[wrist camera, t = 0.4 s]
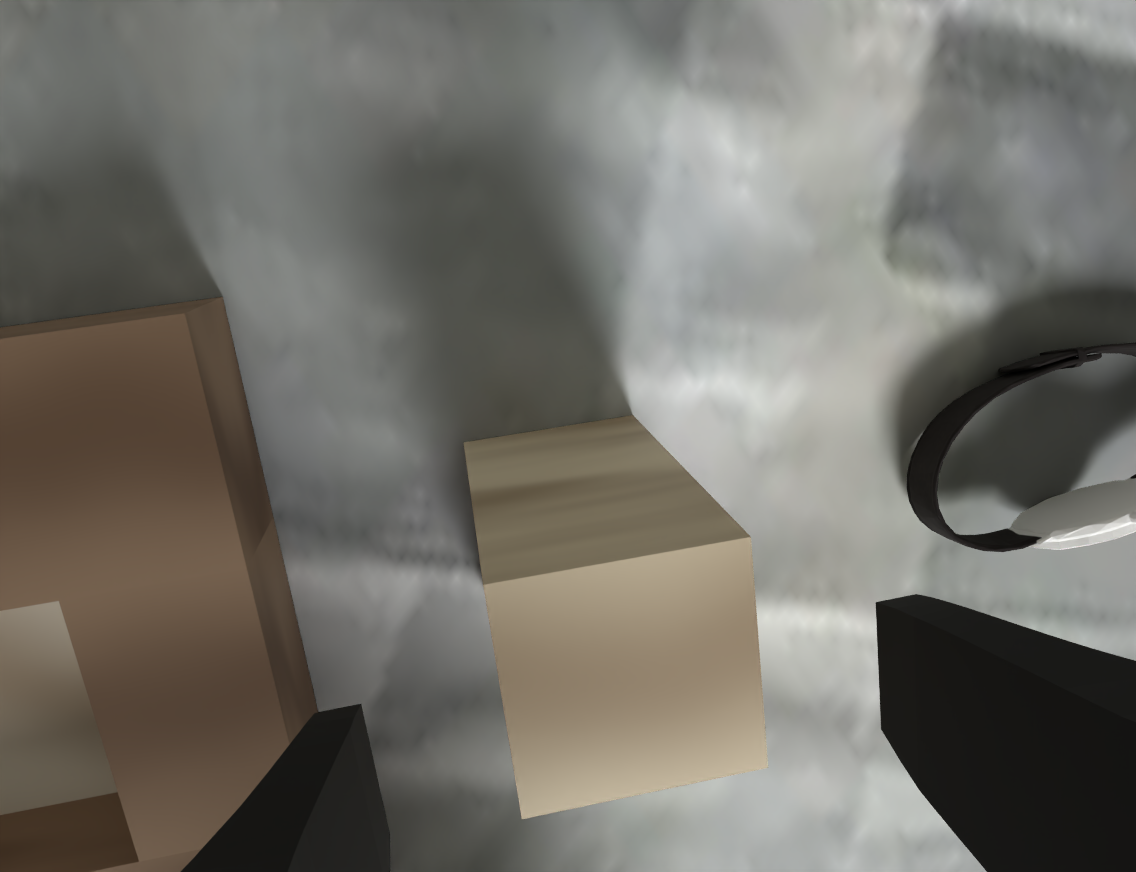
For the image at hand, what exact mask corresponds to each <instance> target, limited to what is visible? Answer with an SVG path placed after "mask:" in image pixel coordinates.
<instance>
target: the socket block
mask: <svg viewBox="0 0 1136 872" xmlns="http://www.w3.org/2000/svg"><path fill="white" fill-rule="evenodd" d="M314 713H318V709H317V705H316V700H315V696H314V692H313V687H312V683H311V678H310V674H309V670H308V665H307V661H306V657H305V652H304V648H303V644H302V639H301V635H300V631H299V626H298V622H297V618H296V613H295V609H294V605H293V600H292V596H291V592H290V587H289V583H288V579H287V574H286V570H285V566H284V561H283V557H282V552H281V548H280V544H279V539H278V535H277V531H276V526H275V522H274V518H273V513H272V509H271V505H270V500H269V496H268V492H267V487H266V483H265V479H264V474H263V470H262V466H261V461H260V457H259V453H258V448H257V444H256V439H255V435H254V431H253V426H252V422H251V418H250V413H249V409H248V405H247V400H246V396H245V392H244V387H243V383H242V379H241V374H240V370H239V366H238V361H237V357H236V353H235V348H234V344H233V340H232V335H231V331H230V326H229V322H228V318H227V313H226V309H225V305H224V300H223V297H217V298H210V299H202V300H195V301H188V302H181V303H173V304H166V305H159V306H152V307H144V308H137V309H130V310H123V311H115V312H108V313H101V314H94V315H86V316H79V317H72V318H65V319H57V320H50V321H43V322H36V323H29V324H21V325H14V326H7V327H0V872H181V871H182V869H183V868H184V867H185V866H186V865H187V864H188V863H189V862H190V861H191V860H192V859H193V858H194V857H195V856H196V855H197V854H198V852H199V851H200V850H201V849H202V848H203V847H204V846H205V845H206V844H207V842H208V841H209V840H210V839H211V838H212V837H213V836H214V835H215V834H216V832H217V831H218V830H219V829H220V828H221V827H222V826H223V825H224V824H225V823H226V821H227V820H228V819H229V818H230V817H231V816H232V815H233V814H234V813H235V811H236V810H237V809H238V808H239V807H240V806H241V805H242V803H243V802H244V801H245V800H246V798H247V797H248V796H249V795H250V794H251V792H252V791H253V790H254V789H255V787H256V786H257V785H258V784H259V782H260V781H261V780H262V779H263V778H264V776H265V775H266V774H267V773H268V771H269V770H270V769H271V768H272V766H273V765H274V764H275V762H276V761H277V760H278V759H279V757H280V756H281V755H282V753H283V752H284V751H285V750H286V748H287V747H288V746H289V744H290V743H291V742H292V741H293V739H294V738H295V737H296V735H297V734H298V733H299V732H300V730H301V729H302V728H303V726H304V725H305V724H306V723H307V721H308V720H309V719H310V718H311V717H312V715H313V714H314Z"/></svg>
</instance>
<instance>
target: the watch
mask: <svg viewBox="0 0 1136 872" xmlns="http://www.w3.org/2000/svg"><path fill="white" fill-rule="evenodd" d="M1090 353H1100V354H1092V355H1087V354H1090ZM1101 353H1121V354H1127V355H1132V356H1135V357H1136V343H1124V344H1109V345H1101V346H1094V347H1086V348H1083V347H1079V348H1071V349H1064V350H1057V351H1050V352H1045V353H1040V356H1037V357H1033V358H1030V359H1027V360H1023V361H1020V362H1017V363H1014V364H1011V365H1008V366H1005V367H1002V368H1000V369H999V370H1000V372H1001V373H1009V374H1007V375H1004V376H1002V377H999V378H997V379H994V380H992V381H989V382H987V383H985V384H983V385H981V386H979V387H977V388H974V389H972V390H971V391H969V392H967V393H966V394H964V395H963V396H961V397H959V398H958V399H956V400H955V401H953V402H952V403H951V404H950V405H948V406H947V407H946V408H945V409H944V410H943V411H942V412H940V413H939V414H938V415H937V416H936V418H935V419H934V420H933V421H932V422H931V423H930V424H929V425H928V426H927V428H926V429H925V431H924V432H923V434H922V436H921V437H920V439H919V441H918V443H917V445H916V447H915V450H914V452H913V454H912V457H911V460H910V464H909V467H908V472H907V492H908V497H909V502H910V504H911V506H912V508H913V511H914V513H915V514H916V515H917V517H918V518H919V520H920V521H921V522H922V523H923V524H925V525H926V526H927V527H928V528H929V529H931V530H932V531H934V532H936V533H938V534H940V535H942V536H944V537H946V538H948V539H950V540H953V541H955V542H958V543H960V544H962V545H965V546H967V547H971V548H974V549H978V550H982V551H994V552H1005V551H1011V550H1017V549H1023V548H1026V547H1028V546H1030V547H1033V548H1040V549H1057V550H1063V549H1069V548H1075V547H1081V546H1087V545H1092V544H1096V543H1101V542H1105V541H1109V540H1114V539H1117V538H1119V537H1122V536H1125V535H1128V534H1130V533H1133V532H1136V474H1135V475H1134V476H1132V477H1131V478H1129V479H1126V480H1120V481H1110V482H1106V483H1101V484H1097V485H1092V486H1088V487H1083V488H1080V489H1076V490H1073V491H1070V492H1067V493H1064V494H1061V495H1058V496H1055V497H1052V498H1048V499H1046V500H1044V501H1042V502H1040V503H1039V504H1037V505H1035V506H1033V507H1031V508H1029V509H1027V510H1026V511H1024V512H1022V513H1020V515H1019V516H1018V517H1017V518H1016V520H1015V521H1014V522H1013V523H1012V526H1011V528H1009V529H1003V530H999V531H995V532H991V533H986V534H979V535H959V534H955V532H954V531H953V530H952V529H951V528H950V527H949V526H948V525H947V524H946V523H945V520H944V518H943V516H942V514H941V512H940V509H939V505H938V498H937V487H938V477H939V473H940V470H941V466H942V463H943V460H944V458H945V456H946V454H947V452H948V450H949V448H950V446H951V444H952V442H953V441H954V440H955V438H956V437H957V435H958V434H959V433H960V431H961V430H962V429H963V427H964V426H965V425H966V424H967V423H968V422H969V421H970V419H971V418H972V417H973V416H974V415H975V414H976V413H977V412H978V411H980V410H981V409H982V408H983V407H985V406H986V405H987V404H988V403H990V402H991V401H992V400H993V399H994V398H996V397H998V396H999V395H1001V394H1003V393H1005V392H1007V391H1008V390H1010V389H1012V388H1014V387H1016V386H1018V385H1020V384H1022V383H1025V382H1027V381H1029V380H1031V379H1034V378H1036V377H1039V376H1041V375H1044V374H1046V373H1049V372H1052V371H1055V370H1058V369H1065V368H1074V367H1079V366H1081V365H1082V364H1083V363H1085V362H1089V361H1094V360H1097V359H1099V358H1101V357H1102V354H1101ZM1076 356H1078V357H1076ZM1011 372H1012V373H1011Z"/></svg>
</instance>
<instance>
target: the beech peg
mask: <svg viewBox="0 0 1136 872" xmlns="http://www.w3.org/2000/svg"><path fill="white" fill-rule="evenodd" d="M464 450H465V457H466V464H467V471H468V479H469V486H470V493H471V500H472V508H473V515H474V522H475V529H476V536H477V544H478V551H479V558H480V565H481V573H482V580H483V587H484V593H485V599H486V605H487V611H488V617H489V623H490V629H491V635H492V641H493V647H494V653H495V659H496V665H497V672H498V678H499V684H500V690H501V696H502V702H503V708H504V714H505V720H506V726H507V732H508V738H509V744H510V750H511V756H512V762H513V768H514V774H515V781H516V787H517V793H518V799H519V805H520V811H521V817H522V819H526V818H531V817H536V816H540V815H545V814H550V813H555V812H559V811H564V810H569V809H574V808H578V807H583V806H588V805H593V804H597V803H602V802H607V801H612V800H617V799H621V798H626V797H631V796H636V795H640V794H645V793H650V792H655V791H659V790H664V789H669V788H674V787H678V786H683V785H688V784H693V783H697V782H702V781H707V780H712V779H716V778H721V777H726V776H731V775H736V774H740V773H745V772H750V771H755V770H759V769H764V768H768V760H767V747H766V733H765V720H764V707H763V693H762V680H761V667H760V653H759V640H758V627H757V613H756V600H755V587H754V573H753V560H752V547H751V537H750V536H749V535H748V534H747V533H746V532H745V530H744V529H743V528H742V527H741V526H740V525H739V524H738V523H737V522H736V521H735V520H734V519H733V518H732V517H731V516H730V515H729V514H728V513H727V512H726V511H725V510H724V509H723V508H722V507H721V506H720V505H719V504H718V503H717V502H716V501H715V500H714V498H713V497H712V496H711V495H710V494H709V493H708V492H707V491H706V490H705V489H704V488H703V487H702V486H701V485H700V484H699V483H698V482H697V481H696V480H695V479H694V478H693V477H692V476H691V475H690V474H689V473H688V472H687V471H686V470H685V469H684V468H683V467H682V465H681V464H680V463H679V462H678V461H677V460H676V459H675V458H674V457H673V456H672V455H671V454H670V453H669V452H668V451H667V450H666V449H665V448H664V447H663V446H662V445H661V444H660V443H659V442H658V441H657V440H656V439H655V438H654V437H653V436H652V435H651V433H650V432H649V431H648V430H647V429H646V428H645V427H644V426H643V425H642V424H641V423H640V422H639V421H638V420H637V419H636V418H635V417H634V416H633V415H630V416H624V417H618V418H612V419H605V420H599V421H593V422H587V423H581V424H574V425H568V426H562V427H556V428H549V429H543V430H537V431H531V432H525V433H518V434H512V435H506V436H500V437H493V438H487V439H481V440H475V441H469V442H464Z"/></svg>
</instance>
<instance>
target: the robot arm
mask: <svg viewBox="0 0 1136 872" xmlns="http://www.w3.org/2000/svg"><path fill="white" fill-rule="evenodd" d="M876 619H877V642H878V665H879V688H880V712H881V730H882V731H883V733H884V735H885V736H886V738H887V740H888V741H889V743H890V744H891V746H892V748H893V749H894V751H895V753H896V754H897V756H898V758H899V759H900V761H901V763H902V764H903V766H904V767H905V769H906V770H907V772H908V773H909V775H910V776H911V778H912V780H913V781H914V783H915V784H916V786H917V787H918V789H919V790H920V791H921V793H922V794H923V795H924V796H925V798H926V799H927V800H928V801H929V803H930V804H931V805H932V806H933V808H934V809H935V810H936V811H937V812H938V814H939V815H940V816H941V817H942V818H943V820H944V821H945V822H946V823H947V824H948V826H949V827H950V828H951V829H952V831H953V832H954V833H955V834H956V835H957V837H958V838H959V839H960V840H961V841H962V842H963V844H964V845H965V846H966V847H967V848H968V850H969V851H970V852H971V853H972V854H973V856H974V857H975V858H976V859H977V860H978V861H979V863H980V864H981V865H982V866H983V867H984V869H985V870H986V871H987V872H1136V661H1134V660H1131V659H1127V658H1123V657H1120V656H1116V655H1113V654H1109V653H1106V652H1102V651H1099V650H1095V649H1092V648H1089V647H1085V646H1082V645H1079V644H1076V643H1072V642H1069V641H1066V640H1063V639H1060V638H1057V637H1053V636H1050V635H1047V634H1044V633H1041V632H1038V631H1035V630H1032V629H1029V628H1026V627H1023V626H1020V625H1017V624H1014V623H1011V622H1008V621H1005V620H1002V619H999V618H996V617H993V616H990V615H987V614H984V613H981V612H978V611H975V610H972V609H969V608H966V607H963V606H959V605H956V604H953V603H950V602H946V601H943V600H939V599H935V598H932V597H927V596H923V595H918V594H915V595H910V596H905V597H900V598H895V599H890V600H885V601H880V602H876ZM181 872H390V833H389V828H388V824H387V819H386V815H385V810H384V806H383V801H382V797H381V792H380V788H379V783H378V779H377V774H376V770H375V765H374V761H373V756H372V751H371V747H370V742H369V738H368V733H367V729H366V724H365V720H364V715H363V711H362V706H361V704H358V705H353V706H348V707H343V708H338V709H333V710H328V711H323V712H318V713H314V714H313V715H312V717H311V718H310V719H309V720H308V721H307V723H306V724H305V725H304V726H303V728H302V729H301V730H300V732H299V733H298V734H297V735H296V737H295V738H294V739H293V741H292V742H291V743H290V744H289V746H288V747H287V748H286V750H285V751H284V752H283V753H282V755H281V756H280V757H279V759H278V760H277V761H276V762H275V764H274V765H273V766H272V768H271V769H270V770H269V771H268V773H267V774H266V775H265V776H264V778H263V779H262V780H261V781H260V782H259V784H258V785H257V786H256V787H255V789H254V790H253V791H252V792H251V794H250V795H249V796H248V797H247V798H246V800H245V801H244V802H243V803H242V805H241V806H240V807H239V808H238V809H237V810H236V811H235V813H234V814H233V815H232V816H231V817H230V818H229V819H228V820H227V821H226V823H225V824H224V825H223V826H222V827H221V828H220V829H219V830H218V831H217V832H216V834H215V835H214V836H213V837H212V838H211V839H210V840H209V841H208V842H207V844H206V845H205V846H204V847H203V848H202V849H201V850H200V851H199V852H198V854H197V855H196V856H195V857H194V858H193V859H192V860H191V861H190V862H189V863H188V864H187V865H186V866H185V867H184V868H183V869H182V871H181Z"/></svg>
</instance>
